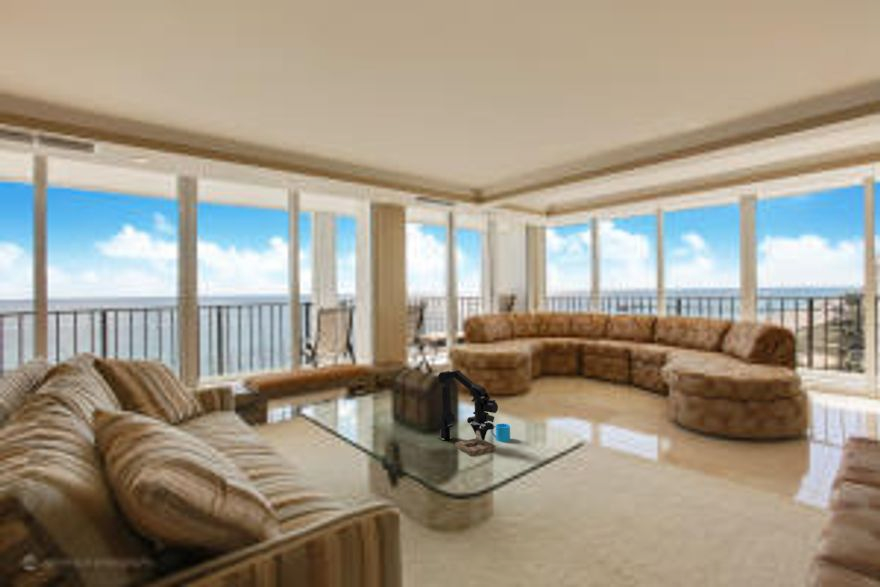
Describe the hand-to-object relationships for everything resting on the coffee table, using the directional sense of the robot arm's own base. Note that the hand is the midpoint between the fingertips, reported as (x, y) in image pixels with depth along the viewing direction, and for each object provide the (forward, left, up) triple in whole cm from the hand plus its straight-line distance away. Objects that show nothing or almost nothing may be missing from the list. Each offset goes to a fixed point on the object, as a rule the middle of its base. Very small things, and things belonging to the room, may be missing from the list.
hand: (480, 438), depth 230 cm
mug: (-6, +17, -5) cm, 19 cm away
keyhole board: (0, -4, -5) cm, 6 cm away
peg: (0, 0, -5) cm, 5 cm away
